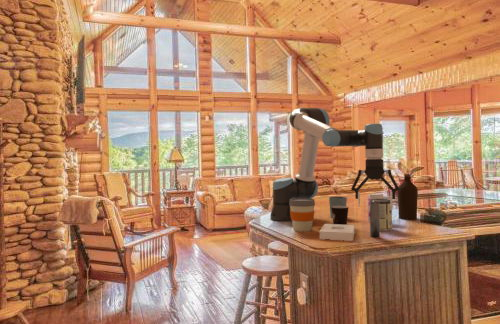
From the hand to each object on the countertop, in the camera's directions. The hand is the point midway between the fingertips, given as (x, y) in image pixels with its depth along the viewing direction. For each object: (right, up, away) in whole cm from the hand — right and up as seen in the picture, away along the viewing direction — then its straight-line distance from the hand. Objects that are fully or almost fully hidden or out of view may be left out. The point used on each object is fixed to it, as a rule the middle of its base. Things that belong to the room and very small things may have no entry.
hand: (375, 206), depth 167 cm
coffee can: (+9, -13, +18) cm, 24 cm away
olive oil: (+34, -12, +45) cm, 58 cm away
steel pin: (0, -14, +1) cm, 14 cm away
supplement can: (+13, -13, +36) cm, 41 cm away
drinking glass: (-4, -13, +51) cm, 53 cm away
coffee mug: (-9, -13, +27) cm, 31 cm away
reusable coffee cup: (-30, -14, +19) cm, 38 cm away
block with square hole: (-16, -14, +4) cm, 21 cm away
